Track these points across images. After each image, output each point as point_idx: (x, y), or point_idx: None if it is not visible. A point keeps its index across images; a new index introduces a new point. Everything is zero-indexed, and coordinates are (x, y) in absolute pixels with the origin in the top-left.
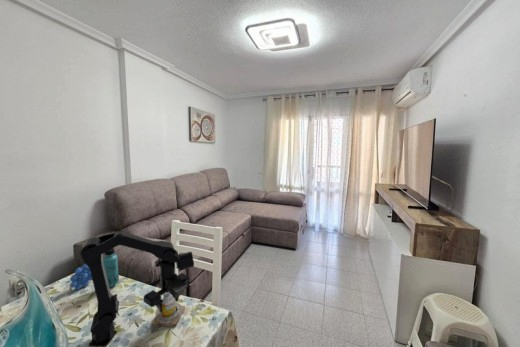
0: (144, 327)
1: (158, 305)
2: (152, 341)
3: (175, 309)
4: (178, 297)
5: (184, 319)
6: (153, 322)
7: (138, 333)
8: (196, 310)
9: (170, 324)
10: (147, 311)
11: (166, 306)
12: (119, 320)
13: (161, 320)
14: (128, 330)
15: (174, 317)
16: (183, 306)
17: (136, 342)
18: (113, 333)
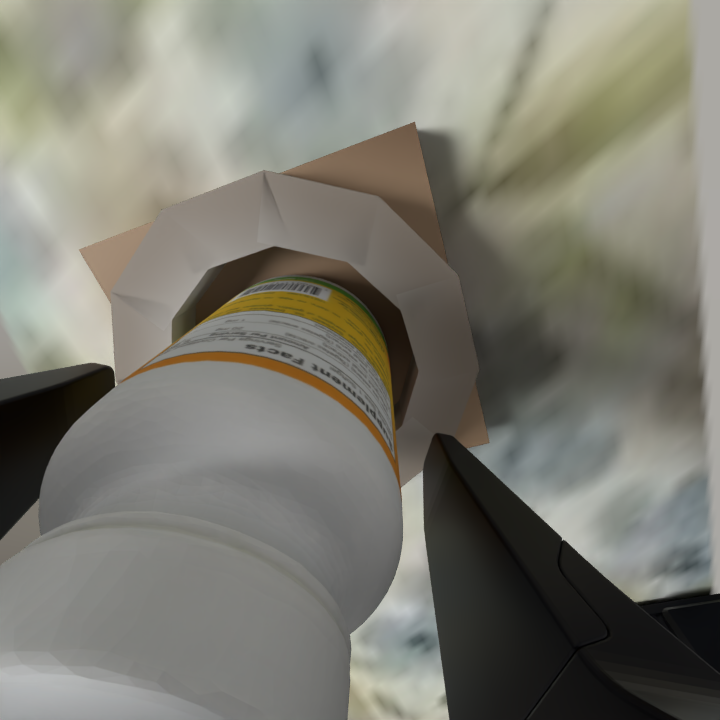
0: (520, 467)
1: (696, 656)
2: (685, 263)
3: (233, 298)
4: (11, 382)
5: (256, 97)
6: (479, 430)
7: (598, 466)
8: (19, 22)
9: (433, 215)
10: None
11: (388, 434)
12: None
13: (475, 353)
14: None
15: (369, 194)
16: (101, 261)
17: (706, 410)
18: (709, 638)
